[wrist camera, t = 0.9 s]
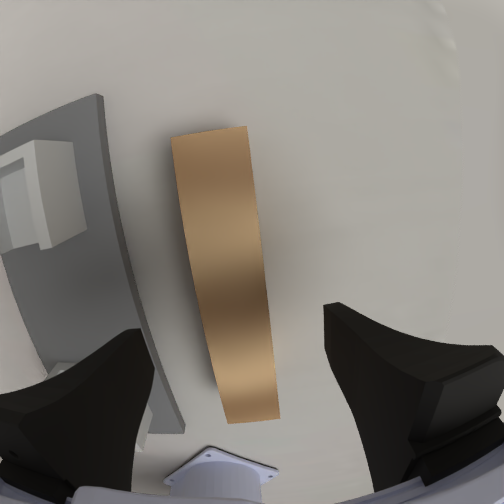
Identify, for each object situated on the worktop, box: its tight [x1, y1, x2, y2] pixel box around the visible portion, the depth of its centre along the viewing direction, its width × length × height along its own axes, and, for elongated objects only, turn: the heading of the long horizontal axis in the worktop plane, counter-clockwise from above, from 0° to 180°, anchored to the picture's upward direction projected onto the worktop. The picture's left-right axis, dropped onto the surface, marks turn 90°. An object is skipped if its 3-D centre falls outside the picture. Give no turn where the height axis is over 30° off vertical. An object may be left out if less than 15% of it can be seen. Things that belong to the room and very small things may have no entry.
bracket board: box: [0, 94, 185, 452], centre depth 15 cm, size 24×10×5 cm, turn 8°
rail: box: [171, 126, 280, 424], centre depth 16 cm, size 16×3×4 cm, turn 7°
